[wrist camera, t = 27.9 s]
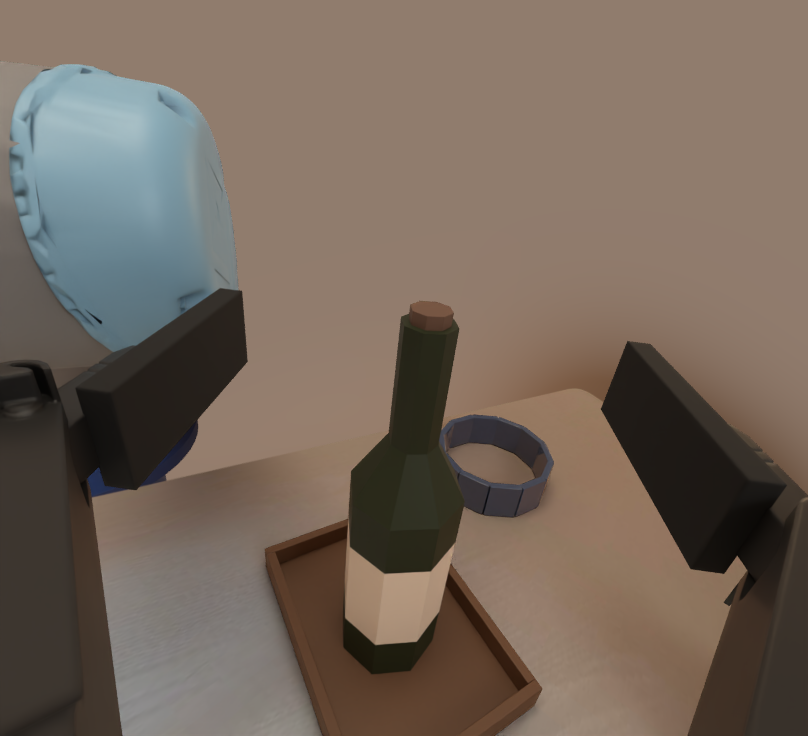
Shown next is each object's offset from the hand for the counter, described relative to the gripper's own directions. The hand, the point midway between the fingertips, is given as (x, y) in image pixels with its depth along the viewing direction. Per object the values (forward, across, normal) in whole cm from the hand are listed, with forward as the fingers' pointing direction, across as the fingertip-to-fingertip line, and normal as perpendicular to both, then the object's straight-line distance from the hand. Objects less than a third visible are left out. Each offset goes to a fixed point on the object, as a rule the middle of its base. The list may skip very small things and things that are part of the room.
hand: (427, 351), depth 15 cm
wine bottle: (+9, 0, -32) cm, 34 cm away
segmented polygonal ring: (+32, +11, -33) cm, 47 cm away
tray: (+9, 0, -33) cm, 34 cm away
